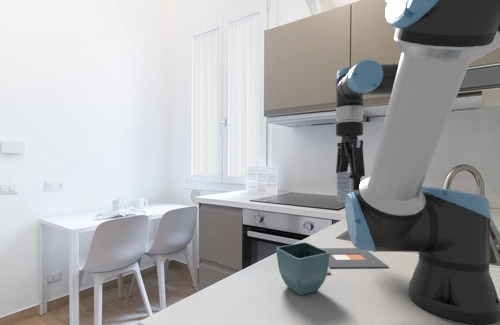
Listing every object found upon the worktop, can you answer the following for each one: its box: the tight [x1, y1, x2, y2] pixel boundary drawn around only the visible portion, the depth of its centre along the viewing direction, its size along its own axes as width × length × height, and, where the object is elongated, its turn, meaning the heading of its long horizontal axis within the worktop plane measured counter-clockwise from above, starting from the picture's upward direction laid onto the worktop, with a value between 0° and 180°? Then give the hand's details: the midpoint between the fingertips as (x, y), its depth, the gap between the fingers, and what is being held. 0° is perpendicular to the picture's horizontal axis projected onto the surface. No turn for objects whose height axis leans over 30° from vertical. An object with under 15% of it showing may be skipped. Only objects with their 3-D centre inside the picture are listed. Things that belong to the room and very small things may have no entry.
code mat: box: [319, 247, 390, 269], centre depth 85 cm, size 16×16×1 cm
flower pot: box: [275, 241, 330, 296], centre depth 64 cm, size 9×9×9 cm
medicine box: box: [336, 171, 351, 204], centre depth 84 cm, size 8×4×9 cm, turn 143°
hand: (348, 199), depth 85 cm, fingers closed on medicine box, 9 cm apart
